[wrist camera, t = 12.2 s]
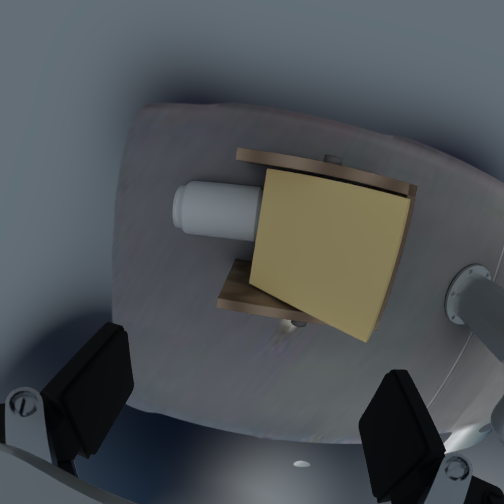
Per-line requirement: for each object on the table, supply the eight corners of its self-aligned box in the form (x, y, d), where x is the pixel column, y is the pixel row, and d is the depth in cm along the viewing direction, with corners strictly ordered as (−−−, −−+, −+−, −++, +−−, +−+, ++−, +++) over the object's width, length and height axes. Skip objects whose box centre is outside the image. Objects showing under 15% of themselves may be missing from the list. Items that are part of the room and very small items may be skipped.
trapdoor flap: (410, 199, 21) (408, 198, 20) (369, 338, 25) (365, 342, 25) (272, 169, 31) (267, 168, 31) (254, 281, 35) (249, 283, 35)
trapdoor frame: (375, 174, 38) (418, 178, 25) (349, 289, 44) (374, 335, 30) (251, 149, 39) (238, 139, 26) (234, 270, 44) (216, 313, 31)
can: (263, 228, 43) (187, 219, 44) (268, 181, 39) (187, 174, 40) (258, 252, 36) (170, 241, 37) (264, 197, 33) (168, 189, 33)
